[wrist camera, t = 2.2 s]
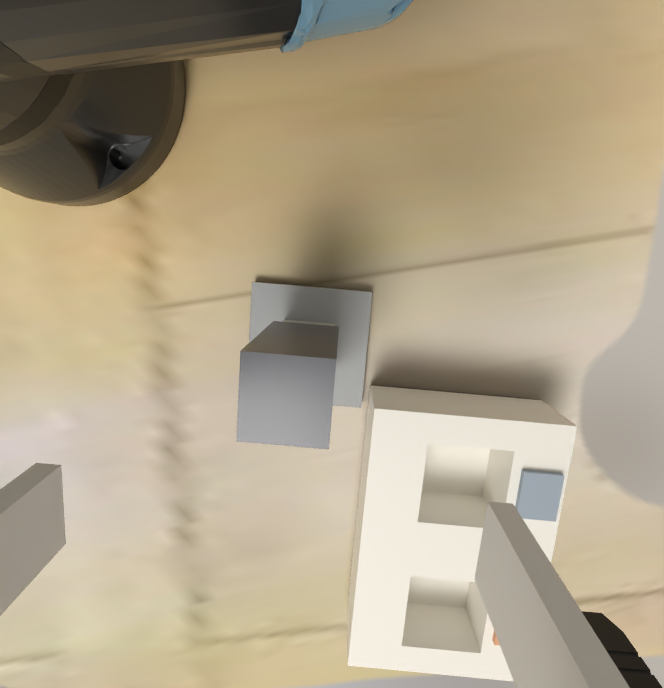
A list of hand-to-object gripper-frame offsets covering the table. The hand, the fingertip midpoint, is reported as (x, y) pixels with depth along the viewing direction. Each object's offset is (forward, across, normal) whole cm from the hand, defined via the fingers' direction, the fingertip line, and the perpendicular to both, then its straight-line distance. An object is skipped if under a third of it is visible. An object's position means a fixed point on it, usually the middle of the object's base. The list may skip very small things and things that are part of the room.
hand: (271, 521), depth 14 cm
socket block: (+18, +10, -10) cm, 23 cm away
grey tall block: (+18, 0, +1) cm, 18 cm away
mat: (+18, 0, +1) cm, 19 cm away
